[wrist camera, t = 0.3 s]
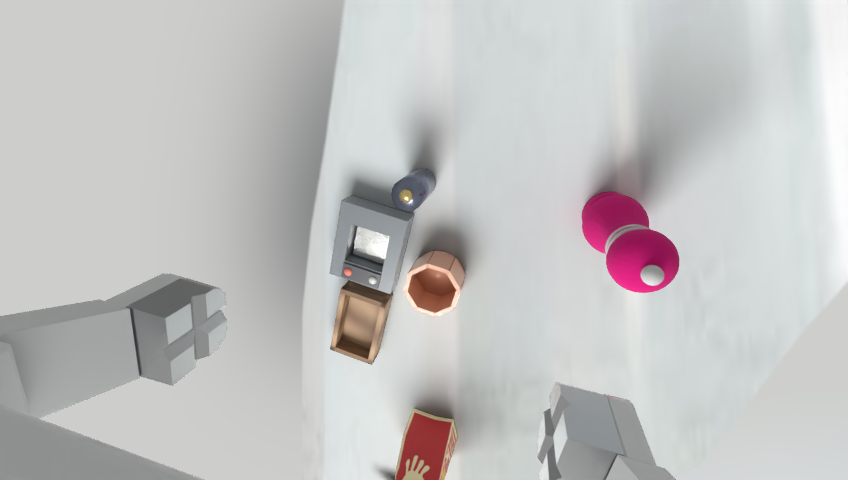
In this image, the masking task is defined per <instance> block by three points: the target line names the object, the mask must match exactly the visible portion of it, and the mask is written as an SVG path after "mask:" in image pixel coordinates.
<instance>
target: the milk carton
mask: <svg viewBox="0 0 848 480" xmlns="http://www.w3.org/2000/svg"><path fill="white" fill-rule="evenodd" d="M457 438H458V437H457V433H456V428H455V424H454V420H453V419H449V418H443V417H436V416H434V415H431V414H428V413H425V412H423V411H420V410H417V409H413V411H412V414H411V416H410V419H409V422H408V424H407V427H406V430H405V432H404V435H403V439H402V444H401V449H400V453H399V458H398V463H397V468H396V472H395V480H444V478H445V475H446V472H447V469H448V466H449V463H450V460H451V457H452V454H453V450H454V447H455V444H456V441H457Z"/></svg>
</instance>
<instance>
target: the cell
mask: <svg viewBox="0 0 848 480" xmlns="http://www.w3.org/2000/svg"><path fill="white" fill-rule="evenodd" d="M435 186H436V180H435V177H434V175H433V174H432V173H431V172H430V171H429V170H427V169H423V168H420V169H416V170H414V171H413V172H411V173H410V174H408V175H407V176H406V177H404V178H403V179H401V180H400V181H398V182H397V183H396V184H395V185H394V186H393V189H392V199H393V202H394V203H395V205H396V206H397V207H398V208H400V209H402V210H405V211H412V210H415V209H416V208H418V207H419V206H420V205H421V204H422V203H423V201H424V200H425V199H426V198H427V197H428V196H429V195H430V194H431V193H432V192H433V191H434V189H435Z"/></svg>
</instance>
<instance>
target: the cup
mask: <svg viewBox="0 0 848 480" xmlns="http://www.w3.org/2000/svg"><path fill="white" fill-rule="evenodd" d="M464 278H465V273H464V269H463V267H462V265H461V263H460V262H459V260H458V259H457V258H456V257H454V256H453V255H451V254H450V253H447V252H444V251H430V252H427V253H425V254H424V255H422V256H421V257H420V258H418V259H417V260H416V261H415V263H414V264H413V266H412V267H411V269H410V271H409V272H408V275H407V279H406V283H405V286H404V290H403V291H404V294H405V295H406V297H407V299H408V300H409V302H410V303H411V305H412V307H413V308H414V309H415V310H416V311H419V312H422V313H425V314H428V315H431V316H434V317H435V316H436V317H437V316H439V315H442V314H444V313H447V312H449V311H451V310H454V308H455V307H456V304H457V300H458V297H459V294H460V291H461V288H462V285H463V282H464Z"/></svg>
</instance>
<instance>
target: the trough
mask: <svg viewBox="0 0 848 480" xmlns="http://www.w3.org/2000/svg"><path fill="white" fill-rule="evenodd" d="M392 296H393V294H388V293H385V292H382V291H379V290H377V289H374V288H371V287H368V286H365V285H362V284H359V283H356V282H353V281H350V280H349V281H348V282H347V283H346V284H345V285H344V286H343V287H342V288H341V293H340V298H339V304H338V309H337V315H336V320H335V326H334V331H333V336H332V342H331V347H330V350H333V351H336V352H338V353H341V354H344V355H347V356H349V357H352V358H355V359H357V360H360V361H363V362H366V363H368V364H371V365H372V363H373V362H374V360H375V358H376V356H377V355H378V353H379V349H380V345H381V341H382V337H383V333H384V329H385V324H386V320H387V316H388V312H389V308H390V304H391V300H392Z"/></svg>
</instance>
